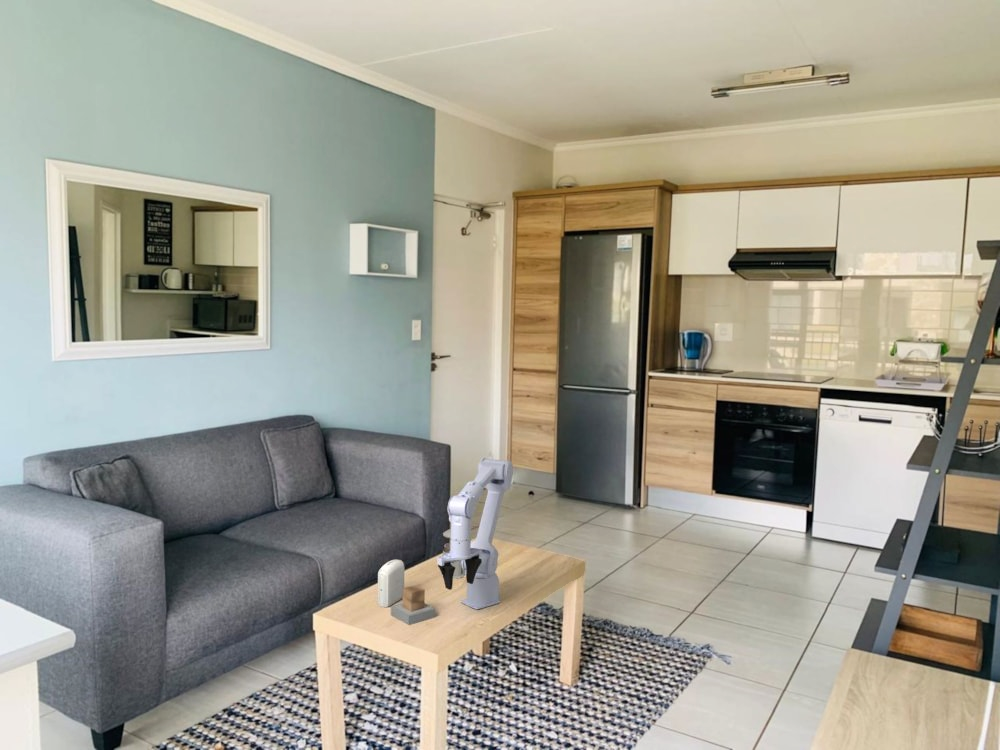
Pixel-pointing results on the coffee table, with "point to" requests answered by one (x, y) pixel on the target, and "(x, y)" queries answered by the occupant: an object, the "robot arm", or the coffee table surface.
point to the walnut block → (413, 598)
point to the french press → (457, 565)
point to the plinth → (412, 614)
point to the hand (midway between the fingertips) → (459, 585)
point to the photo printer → (390, 583)
